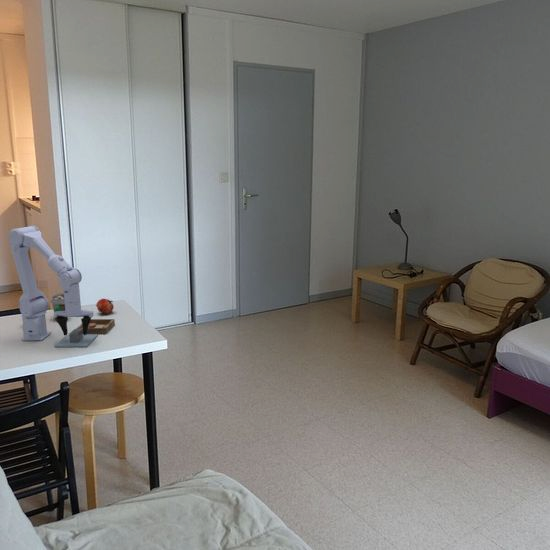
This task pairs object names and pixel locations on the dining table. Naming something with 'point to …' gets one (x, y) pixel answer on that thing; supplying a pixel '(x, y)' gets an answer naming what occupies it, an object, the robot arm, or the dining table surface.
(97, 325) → the wooden tray
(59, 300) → the food container
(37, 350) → the dining table surface
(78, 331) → the lid
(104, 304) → the pomegranate
